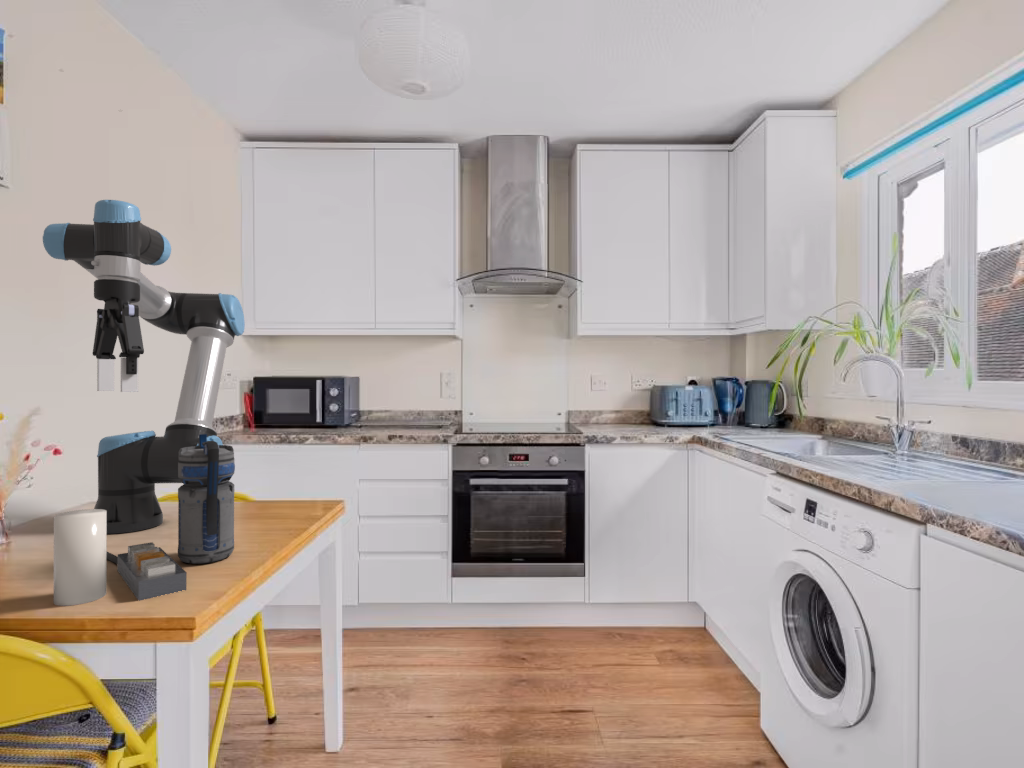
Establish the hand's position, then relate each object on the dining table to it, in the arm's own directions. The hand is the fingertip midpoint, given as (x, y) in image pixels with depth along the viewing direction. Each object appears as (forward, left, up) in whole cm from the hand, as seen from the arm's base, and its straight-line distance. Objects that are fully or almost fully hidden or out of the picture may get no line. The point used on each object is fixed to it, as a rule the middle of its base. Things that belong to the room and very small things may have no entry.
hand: (117, 391), depth 112 cm
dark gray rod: (-3, 0, -34) cm, 34 cm away
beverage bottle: (+12, +12, -34) cm, 38 cm away
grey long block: (+16, 0, -34) cm, 38 cm away
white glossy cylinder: (+16, -11, -34) cm, 39 cm away
